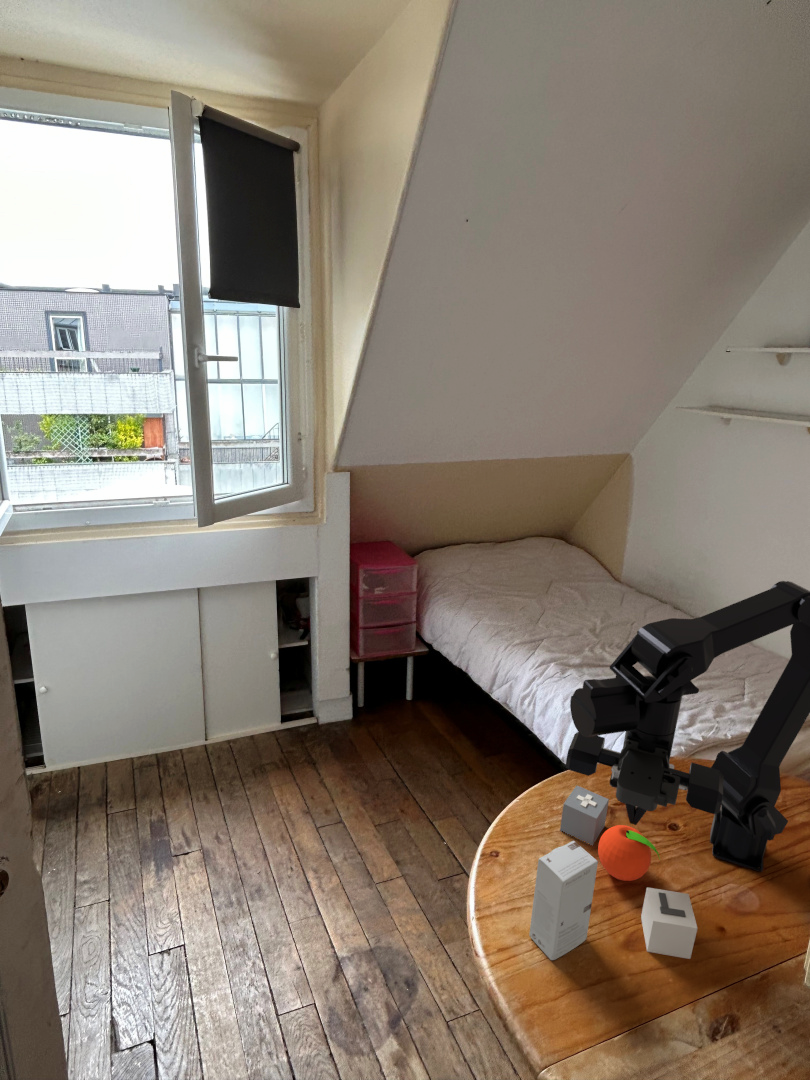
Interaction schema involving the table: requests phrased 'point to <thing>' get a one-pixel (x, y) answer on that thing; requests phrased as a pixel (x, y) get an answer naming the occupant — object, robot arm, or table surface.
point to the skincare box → (563, 899)
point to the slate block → (584, 815)
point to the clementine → (625, 852)
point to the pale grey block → (668, 923)
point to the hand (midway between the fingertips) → (633, 822)
